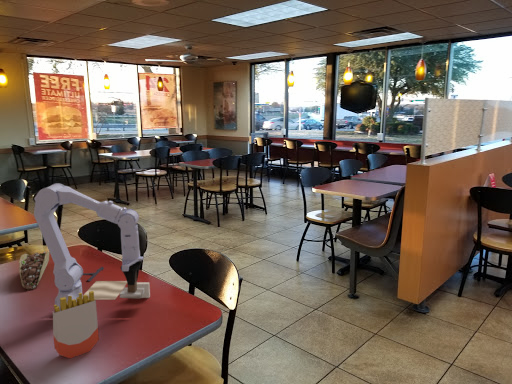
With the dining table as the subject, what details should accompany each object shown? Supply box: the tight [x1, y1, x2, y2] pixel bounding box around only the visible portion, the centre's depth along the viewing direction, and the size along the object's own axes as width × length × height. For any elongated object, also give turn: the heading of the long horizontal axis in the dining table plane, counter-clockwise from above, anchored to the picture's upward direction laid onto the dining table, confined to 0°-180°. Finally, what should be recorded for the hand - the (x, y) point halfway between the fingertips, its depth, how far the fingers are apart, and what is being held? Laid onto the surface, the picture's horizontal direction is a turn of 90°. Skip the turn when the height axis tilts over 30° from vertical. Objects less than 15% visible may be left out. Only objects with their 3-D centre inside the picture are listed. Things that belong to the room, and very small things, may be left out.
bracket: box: [82, 266, 105, 282], centre depth 166 cm, size 14×15×3 cm
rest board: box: [83, 280, 127, 301], centre depth 152 cm, size 16×13×1 cm
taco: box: [18, 250, 50, 290], centre depth 164 cm, size 10×27×10 cm, turn 19°
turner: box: [119, 272, 144, 300], centre depth 137 cm, size 5×7×8 cm
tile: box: [137, 281, 151, 299], centre depth 146 cm, size 2×7×6 cm, turn 91°
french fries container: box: [52, 291, 100, 359], centre depth 112 cm, size 5×11×18 cm, turn 132°
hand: (132, 282), depth 137 cm, fingers closed on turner, 2 cm apart
